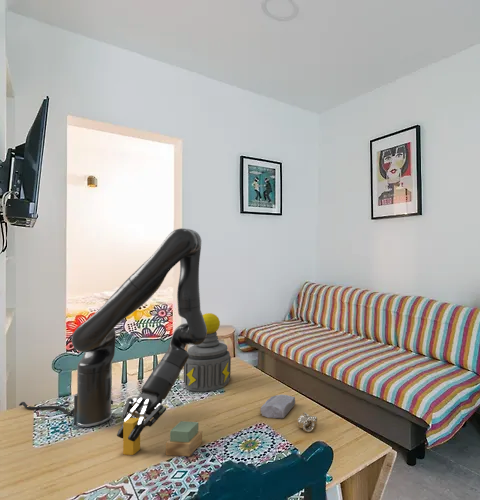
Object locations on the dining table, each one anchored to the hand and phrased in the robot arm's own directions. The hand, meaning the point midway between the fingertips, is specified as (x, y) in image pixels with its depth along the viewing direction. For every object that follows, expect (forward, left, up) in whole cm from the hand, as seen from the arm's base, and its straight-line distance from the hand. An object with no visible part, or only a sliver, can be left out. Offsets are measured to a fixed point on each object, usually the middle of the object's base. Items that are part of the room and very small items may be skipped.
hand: (125, 438), depth 98 cm
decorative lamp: (-2, +51, -5) cm, 51 cm away
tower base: (+14, +5, -5) cm, 16 cm away
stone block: (+34, +31, -5) cm, 46 cm away
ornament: (+47, +21, -5) cm, 52 cm away
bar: (+1, +2, -5) cm, 5 cm away
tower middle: (+14, +5, -1) cm, 15 cm away
